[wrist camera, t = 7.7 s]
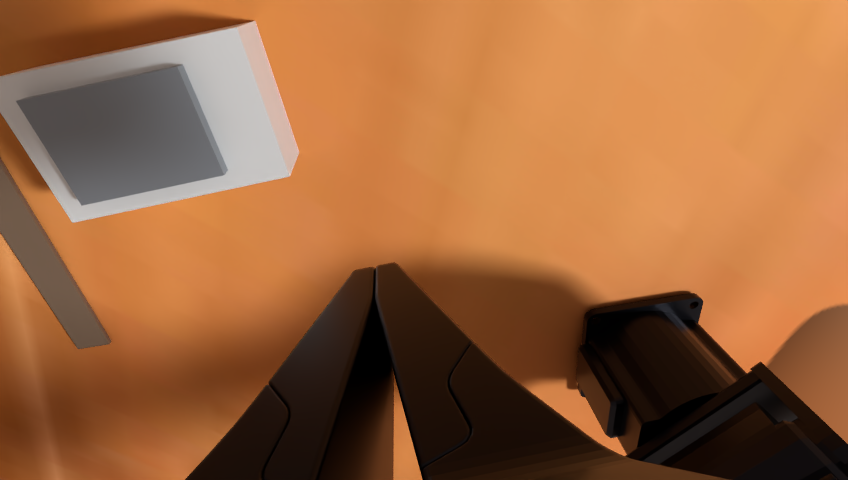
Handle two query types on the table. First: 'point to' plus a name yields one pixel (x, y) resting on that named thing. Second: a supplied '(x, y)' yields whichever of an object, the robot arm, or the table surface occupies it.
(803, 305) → the table surface
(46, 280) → the bar
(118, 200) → the stud finder
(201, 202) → the table surface
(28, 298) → the table surface
